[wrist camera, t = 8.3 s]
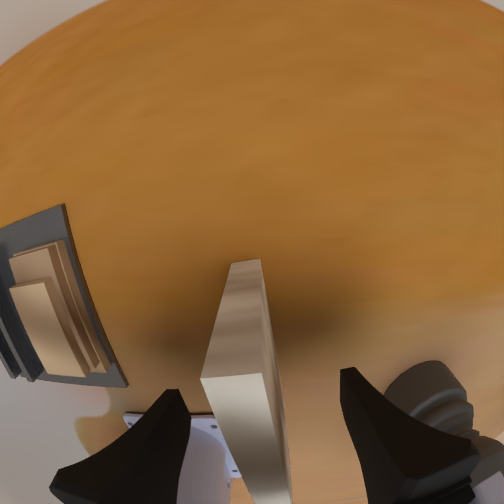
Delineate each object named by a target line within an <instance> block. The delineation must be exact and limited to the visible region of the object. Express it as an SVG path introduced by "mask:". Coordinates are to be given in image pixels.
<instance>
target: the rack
mask: <svg viewBox="0 0 504 504" xmlns="http://www.w3.org/2000/svg"><path fill="white" fill-rule="evenodd" d="M62 239H64V241H65V245H66V249H67V252H68V256H69V259H70V262H71V266H72V269H73V272H74V275H75V278H76V281H77V284H78V287H79V290H80V293H81V296H82V298H83V301H84V304H85V307H86V309H87V312H88V314H89V317H90V319H91V322H92V324H93V327H94V329H95V332H96V334H97V336H98V339H99V341H100V343H101V345H102V348H103V350H104V352H105V354H106V356H107V358H108V360H109V362H110V365H111V367H110V368H109V370H108V371H107V373H99V372H89V374H88V375H87V376H86V377H75V376H64V375H54V374H48V373H47V372H46V370H45V368H44V366H43V364H42V362H41V360H40V359H39V357H38V355H37V353H36V351H35V349H34V347H33V345H32V343H31V341H30V338H29V336H28V334H27V332H26V330H25V328H24V325H23V323H22V321H21V318H20V316H19V313H18V311H17V309H16V306H15V303H14V301H13V298H12V295H11V293H10V290H9V288H11V287H13V286H14V285H16V281H15V278H14V275H13V272H12V269H11V266H10V262H9V259H10V258H12V257H14V254H16V253H18V252H21V251H24V250H27V249H31V248H34V247H37V246H41V245H44V244H48V243H51V242H55V241H58V240H62ZM0 359H1V361H2V363H3V365H4V367H5V368H6V370H7V372H8V374H9V375H10V377H11V378H14V379H16V377H18V375H19V374H20V375H21V377H26V378H27V380H28V381H29V382H34V381H35V380H36V379H39V380H45V381H52V382H60V383H68V384H78V385H89V386H102V387H120V388H127V386H128V385H129V384H128V382H127V380H126V378H125V376H124V374H123V372H122V370H121V368H120V366H119V364H118V362H117V360H116V357H115V355H114V353H113V351H112V349H111V346H110V344H109V342H108V340H107V337H106V335H105V332H104V330H103V328H102V325H101V323H100V320H99V318H98V315H97V312H96V310H95V307H94V304H93V302H92V299H91V296H90V293H89V291H88V288H87V285H86V282H85V279H84V276H83V272H82V269H81V266H80V263H79V259H78V256H77V252H76V249H75V245H74V242H73V238H72V234H71V230H70V226H69V222H68V217H67V213H66V208H65V204H62V205H59V206H56V207H53V208H51V209H48V210H45V211H43V212H40V213H38V214H35V215H33V216H30V217H28V218H25V219H23V220H20V221H18V222H15V223H13V224H11V225H8V226H6V227H4V228H2V229H0Z"/></svg>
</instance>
